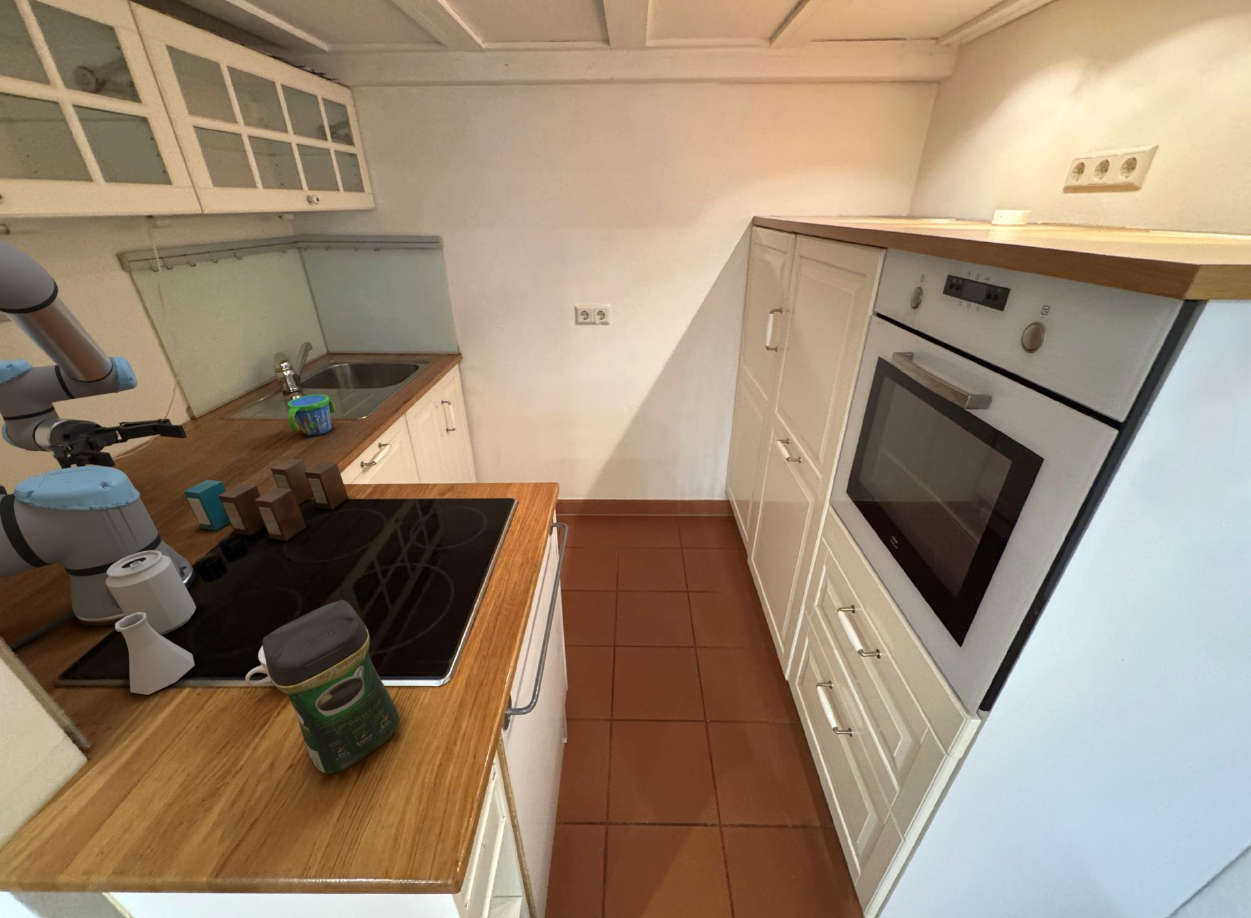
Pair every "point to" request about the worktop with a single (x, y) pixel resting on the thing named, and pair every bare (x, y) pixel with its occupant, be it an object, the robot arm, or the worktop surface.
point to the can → (151, 590)
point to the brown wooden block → (280, 513)
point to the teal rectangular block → (208, 504)
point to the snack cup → (311, 414)
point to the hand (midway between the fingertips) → (148, 445)
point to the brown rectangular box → (293, 478)
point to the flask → (151, 656)
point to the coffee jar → (332, 685)
